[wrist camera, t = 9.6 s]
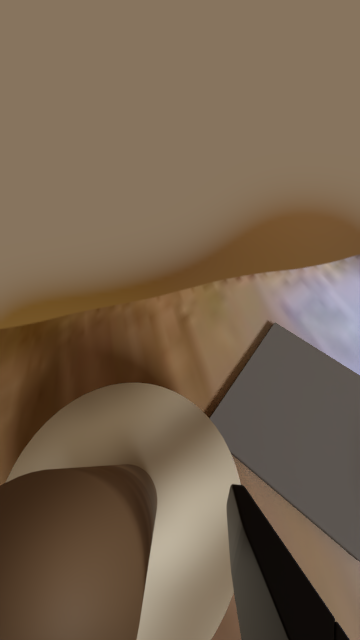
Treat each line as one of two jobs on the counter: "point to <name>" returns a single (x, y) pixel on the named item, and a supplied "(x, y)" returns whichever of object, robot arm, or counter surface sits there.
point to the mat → (299, 431)
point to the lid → (118, 522)
